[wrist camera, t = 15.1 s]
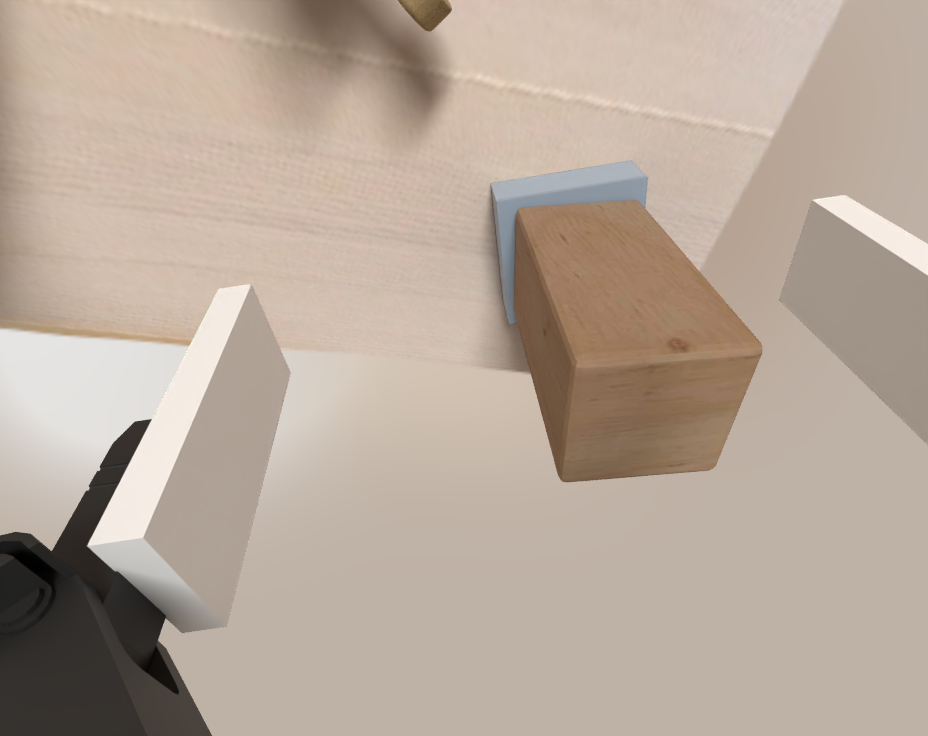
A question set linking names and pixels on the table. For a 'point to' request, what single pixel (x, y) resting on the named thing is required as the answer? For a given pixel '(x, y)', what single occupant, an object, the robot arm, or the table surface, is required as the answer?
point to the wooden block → (625, 343)
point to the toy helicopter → (427, 11)
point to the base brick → (556, 190)
